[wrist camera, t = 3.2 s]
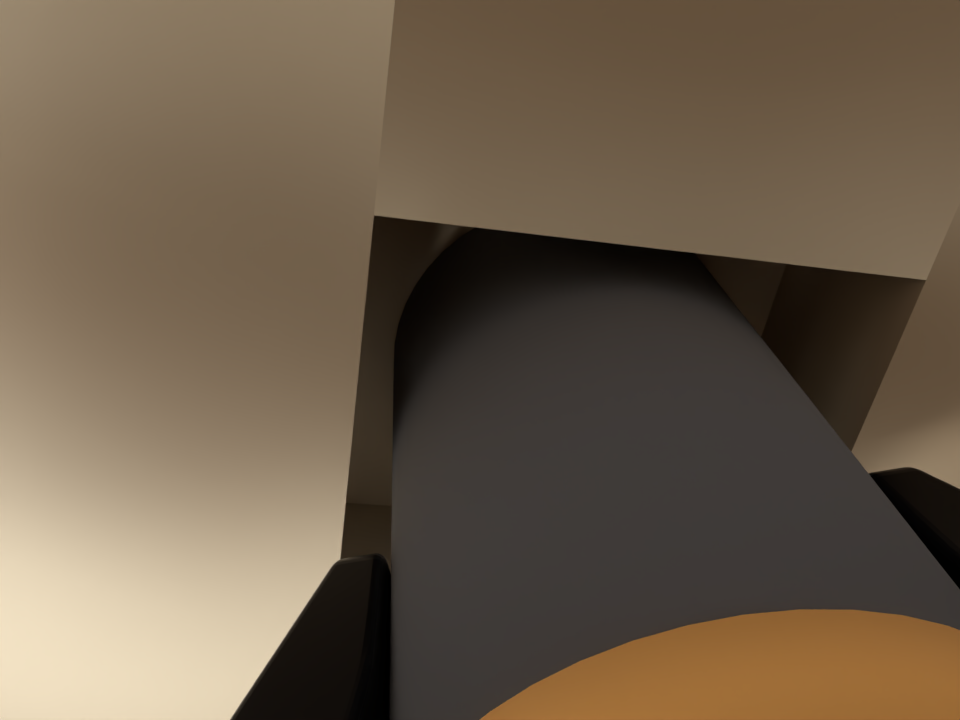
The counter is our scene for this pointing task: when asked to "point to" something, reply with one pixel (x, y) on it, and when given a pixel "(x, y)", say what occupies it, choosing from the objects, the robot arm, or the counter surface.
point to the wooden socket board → (402, 272)
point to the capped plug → (636, 509)
